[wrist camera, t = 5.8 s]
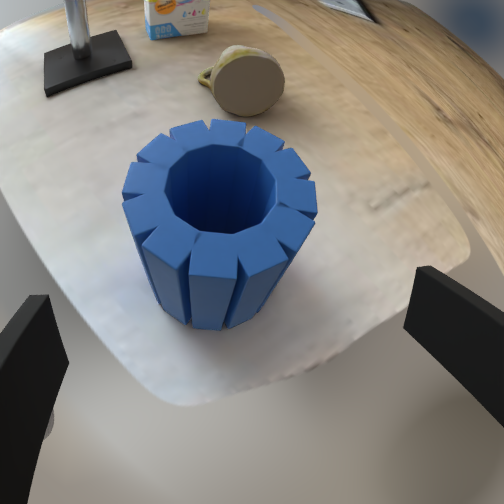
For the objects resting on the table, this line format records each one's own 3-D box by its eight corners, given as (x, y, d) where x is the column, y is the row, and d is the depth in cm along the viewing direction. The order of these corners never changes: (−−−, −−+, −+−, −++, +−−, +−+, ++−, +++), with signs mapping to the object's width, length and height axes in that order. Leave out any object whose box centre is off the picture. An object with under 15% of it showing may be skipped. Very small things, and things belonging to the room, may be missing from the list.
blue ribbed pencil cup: (180, 351, 21) (165, 314, 12) (133, 241, 23) (104, 149, 15) (294, 297, 23) (352, 230, 15) (238, 201, 26) (259, 106, 17)
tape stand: (47, 99, 29) (17, -27, 14) (46, 61, 33) (27, -41, 17) (132, 69, 33) (127, -59, 17) (117, 37, 36) (112, -65, 21)
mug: (259, 64, 36) (298, 27, 26) (252, 134, 36) (293, 108, 27) (201, 50, 33) (227, 5, 24) (189, 122, 33) (212, 89, 24)
